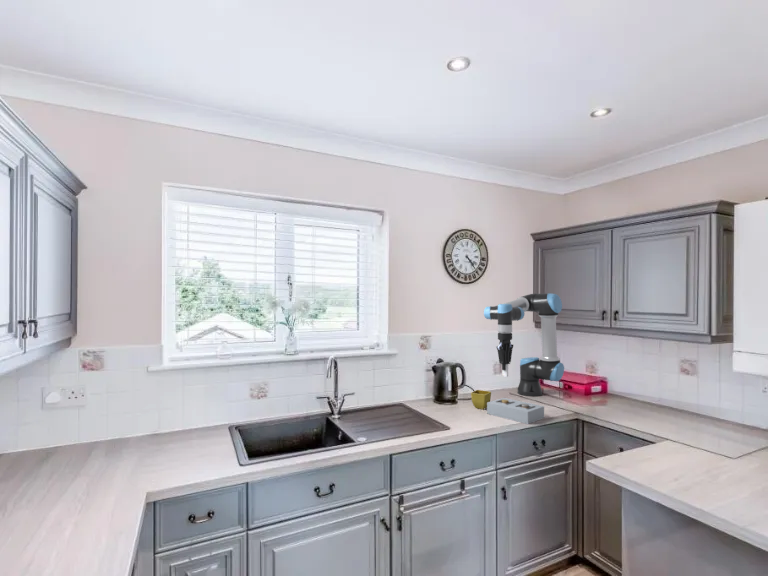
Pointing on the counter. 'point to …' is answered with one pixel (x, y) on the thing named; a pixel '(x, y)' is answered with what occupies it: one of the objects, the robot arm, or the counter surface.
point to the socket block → (515, 410)
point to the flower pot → (480, 398)
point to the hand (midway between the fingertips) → (505, 376)
